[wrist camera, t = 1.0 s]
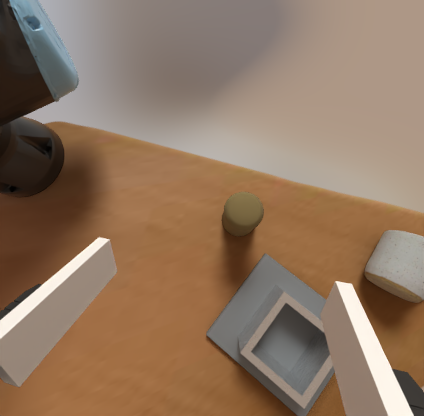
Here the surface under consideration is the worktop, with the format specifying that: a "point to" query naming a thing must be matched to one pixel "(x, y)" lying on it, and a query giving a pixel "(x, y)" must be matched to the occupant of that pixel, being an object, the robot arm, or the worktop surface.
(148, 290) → the worktop surface
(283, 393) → the base plate
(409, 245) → the ceramic mug
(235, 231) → the cork
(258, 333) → the metal collar
